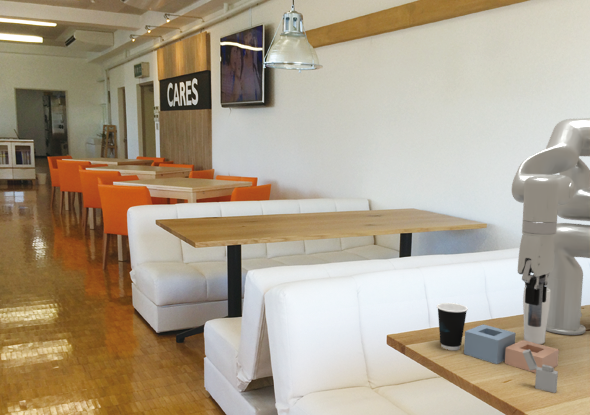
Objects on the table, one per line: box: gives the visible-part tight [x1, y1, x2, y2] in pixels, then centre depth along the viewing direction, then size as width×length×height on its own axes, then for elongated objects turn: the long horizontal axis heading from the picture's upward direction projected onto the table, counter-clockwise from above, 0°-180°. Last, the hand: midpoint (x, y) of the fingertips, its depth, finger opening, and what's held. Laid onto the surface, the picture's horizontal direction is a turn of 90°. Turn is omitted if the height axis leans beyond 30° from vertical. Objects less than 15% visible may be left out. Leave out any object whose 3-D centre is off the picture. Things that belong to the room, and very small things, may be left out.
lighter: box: [523, 349, 559, 394], centre depth 119 cm, size 7×2×8 cm, turn 56°
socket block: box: [463, 324, 516, 365], centre depth 138 cm, size 9×9×6 cm
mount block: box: [504, 339, 560, 374], centre depth 132 cm, size 9×9×4 cm
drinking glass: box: [522, 286, 551, 345], centre depth 148 cm, size 7×7×15 cm
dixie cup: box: [436, 302, 469, 351], centre depth 143 cm, size 8×8×11 cm
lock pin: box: [528, 276, 545, 327], centre depth 132 cm, size 4×4×12 cm
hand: (535, 301), depth 132 cm, fingers closed on lock pin, 3 cm apart
